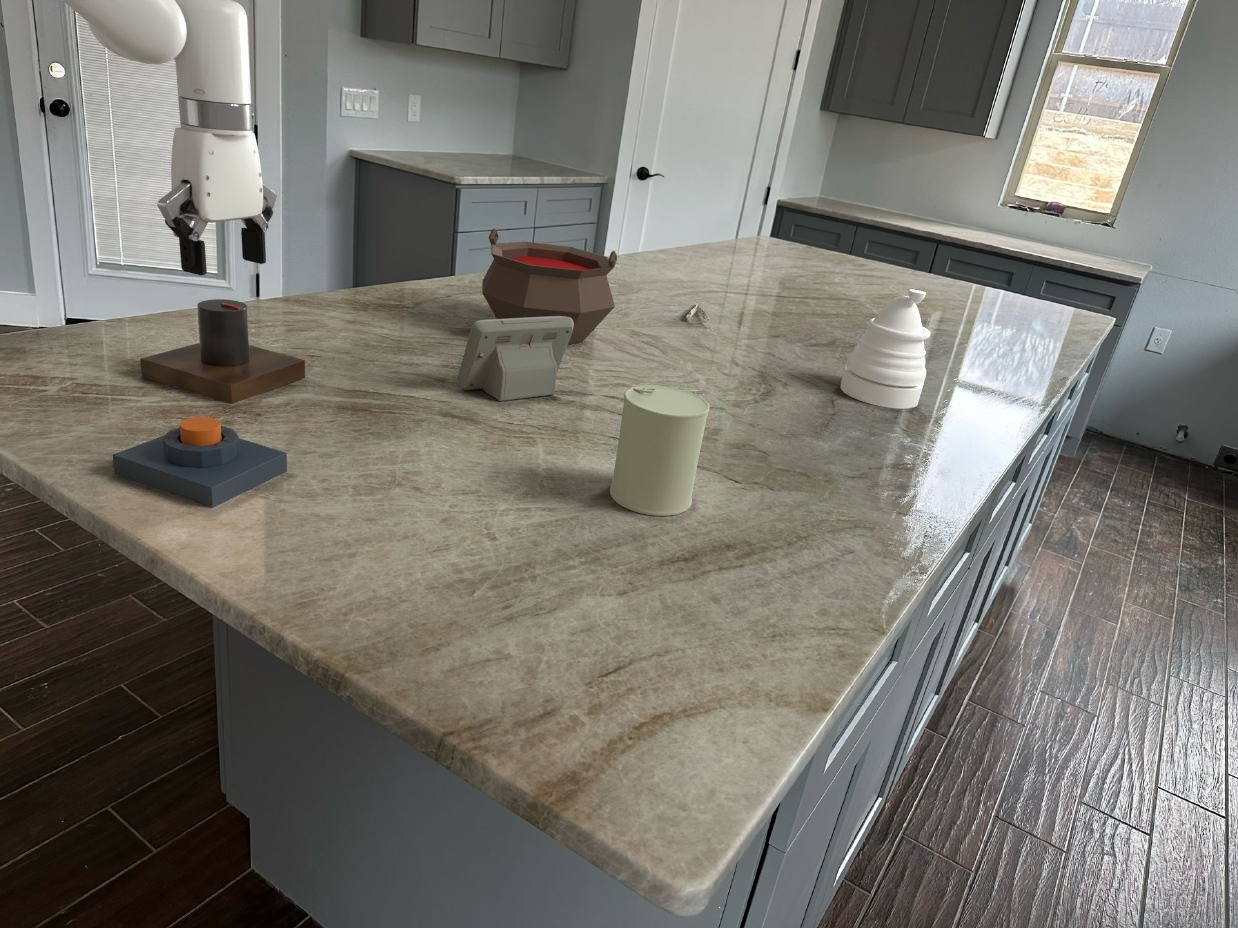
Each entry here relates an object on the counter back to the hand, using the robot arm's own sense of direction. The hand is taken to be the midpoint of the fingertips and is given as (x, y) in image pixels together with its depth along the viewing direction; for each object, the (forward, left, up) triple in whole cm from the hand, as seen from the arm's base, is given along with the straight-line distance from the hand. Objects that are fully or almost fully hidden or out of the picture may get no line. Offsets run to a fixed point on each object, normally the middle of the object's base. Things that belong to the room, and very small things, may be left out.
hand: (225, 267), depth 104 cm
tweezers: (+38, +89, -14) cm, 98 cm away
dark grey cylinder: (0, -1, -12) cm, 12 cm away
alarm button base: (+18, -23, -14) cm, 32 cm away
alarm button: (+18, -23, -11) cm, 31 cm away
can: (+58, 0, -14) cm, 60 cm away
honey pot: (+78, +61, -14) cm, 100 cm away
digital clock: (+30, +21, -14) cm, 39 cm away
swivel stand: (0, -1, -14) cm, 14 cm away
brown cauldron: (+21, +50, -14) cm, 56 cm away
